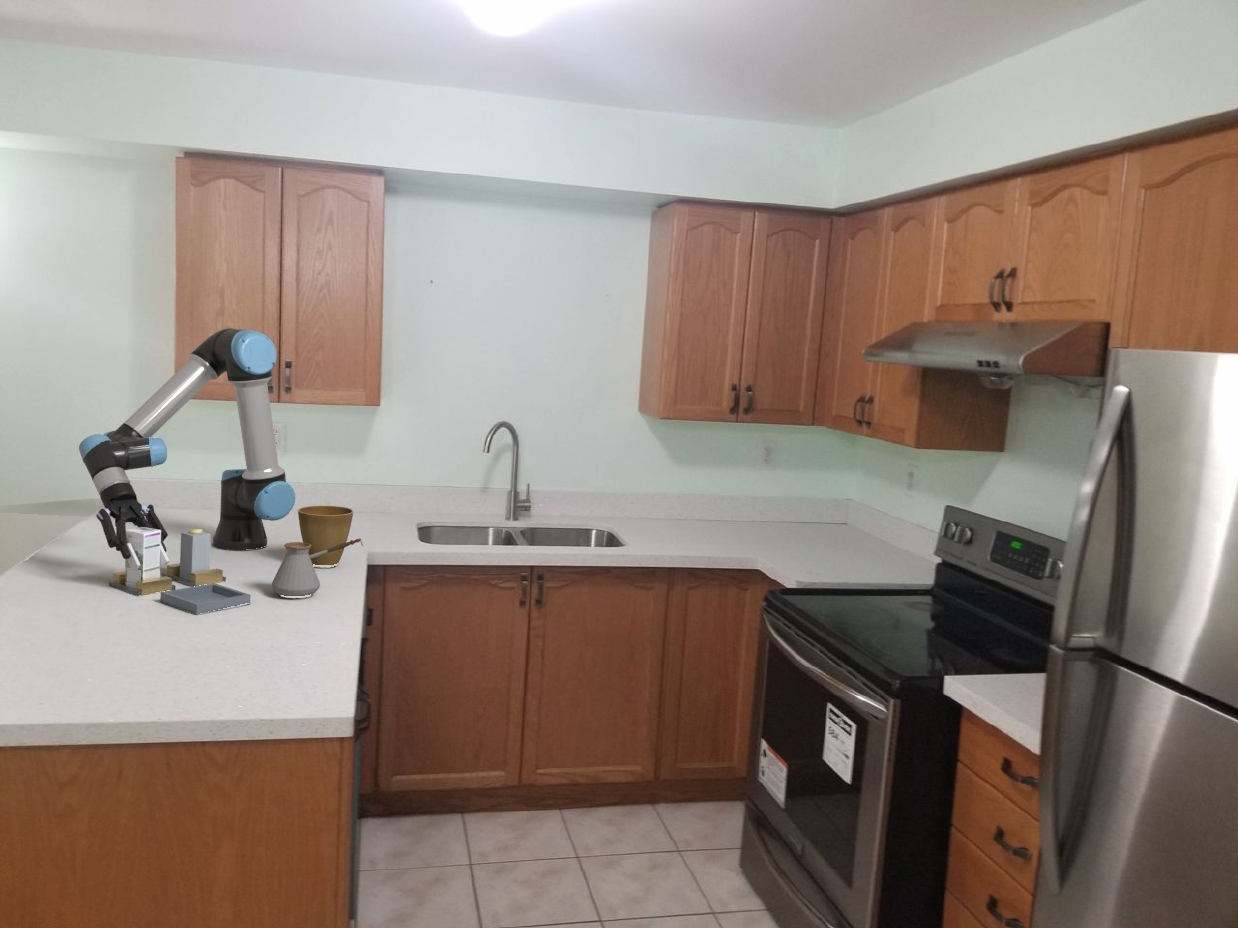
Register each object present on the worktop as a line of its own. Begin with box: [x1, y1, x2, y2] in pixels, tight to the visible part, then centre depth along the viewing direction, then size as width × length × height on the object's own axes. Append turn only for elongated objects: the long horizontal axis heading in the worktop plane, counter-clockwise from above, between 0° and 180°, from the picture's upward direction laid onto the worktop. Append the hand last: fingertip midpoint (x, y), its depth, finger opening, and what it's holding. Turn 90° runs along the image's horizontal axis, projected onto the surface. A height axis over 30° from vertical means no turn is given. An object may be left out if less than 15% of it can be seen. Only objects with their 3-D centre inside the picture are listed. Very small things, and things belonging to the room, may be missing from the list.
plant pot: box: [297, 505, 354, 565], centre depth 278 cm, size 15×15×16 cm
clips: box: [162, 562, 227, 587], centre depth 253 cm, size 10×12×3 cm
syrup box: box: [124, 526, 161, 589], centre depth 240 cm, size 6×6×14 cm
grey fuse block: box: [179, 527, 212, 580], centre depth 252 cm, size 5×5×13 cm
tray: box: [159, 583, 251, 615], centre depth 232 cm, size 14×14×2 cm
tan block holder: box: [108, 571, 177, 597], centre depth 241 cm, size 10×12×3 cm
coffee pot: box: [271, 537, 364, 596], centre depth 246 cm, size 21×12×15 cm, turn 103°
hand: (151, 566), depth 239 cm, fingers closed on syrup box, 7 cm apart
